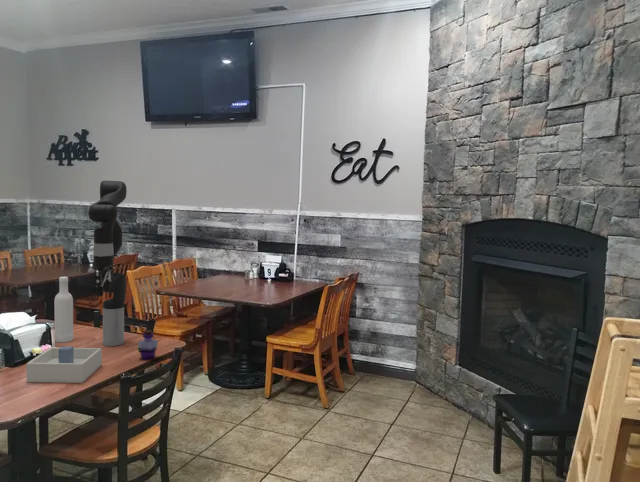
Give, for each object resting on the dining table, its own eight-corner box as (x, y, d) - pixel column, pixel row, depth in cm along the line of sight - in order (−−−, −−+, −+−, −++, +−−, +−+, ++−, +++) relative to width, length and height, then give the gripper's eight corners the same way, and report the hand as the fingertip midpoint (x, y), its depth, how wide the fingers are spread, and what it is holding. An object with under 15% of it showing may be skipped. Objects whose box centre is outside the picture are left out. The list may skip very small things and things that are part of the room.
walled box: (51, 364, 211) (51, 347, 211) (101, 364, 212) (101, 348, 212) (26, 382, 191) (26, 363, 191) (82, 382, 193) (82, 364, 192)
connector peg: (63, 371, 204) (62, 346, 203) (73, 371, 204) (73, 346, 203) (58, 374, 200) (58, 349, 199) (69, 374, 200) (69, 349, 199)
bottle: (77, 338, 247) (76, 276, 245) (65, 343, 240) (65, 279, 237) (62, 337, 249) (62, 275, 246) (50, 341, 241) (50, 277, 239)
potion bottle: (135, 356, 225) (135, 329, 224) (155, 353, 229) (155, 327, 228) (140, 362, 218) (140, 334, 216) (160, 359, 222) (161, 331, 221)
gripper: (100, 251, 216) (100, 290, 218) (87, 256, 202) (87, 297, 204) (118, 252, 217) (119, 290, 219) (106, 256, 203) (107, 297, 204)
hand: (103, 293), depth 211 cm, fingers open, 8 cm apart
